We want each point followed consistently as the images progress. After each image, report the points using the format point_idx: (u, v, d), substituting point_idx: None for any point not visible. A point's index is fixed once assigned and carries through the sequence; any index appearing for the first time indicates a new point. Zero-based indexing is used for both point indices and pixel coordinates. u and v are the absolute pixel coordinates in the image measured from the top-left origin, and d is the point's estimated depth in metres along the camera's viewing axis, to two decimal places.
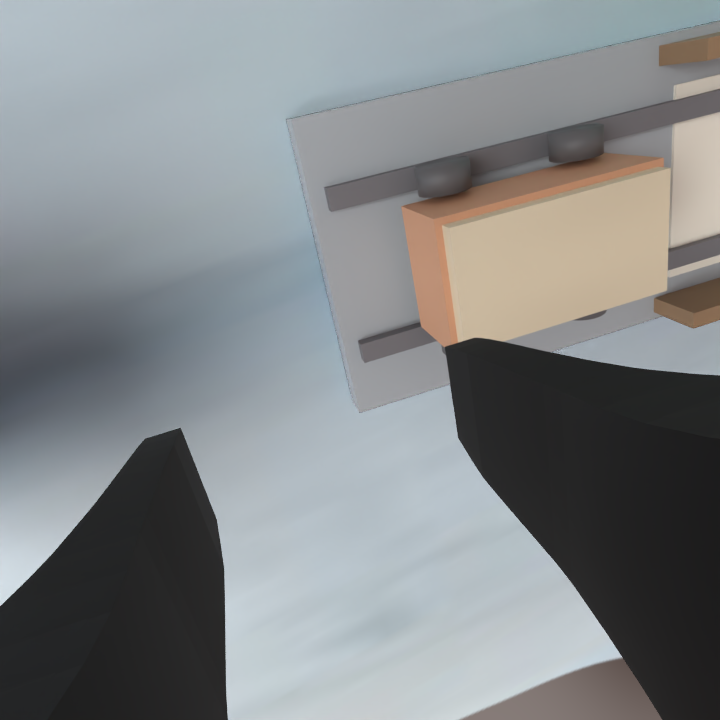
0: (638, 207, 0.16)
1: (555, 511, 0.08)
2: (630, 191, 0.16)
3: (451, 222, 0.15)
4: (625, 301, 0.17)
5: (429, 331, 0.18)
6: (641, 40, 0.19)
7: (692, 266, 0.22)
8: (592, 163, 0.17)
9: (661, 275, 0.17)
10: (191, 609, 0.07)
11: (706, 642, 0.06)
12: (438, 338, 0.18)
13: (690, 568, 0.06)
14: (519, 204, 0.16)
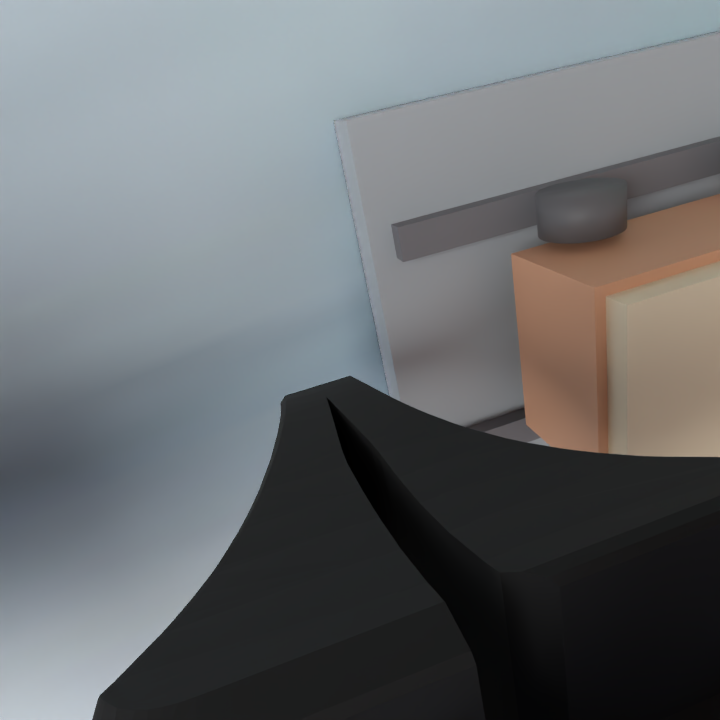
0: None
1: None
2: None
3: (622, 292, 0.09)
4: None
5: (543, 436, 0.12)
6: None
7: None
8: None
9: None
10: None
11: None
12: None
13: None
14: None
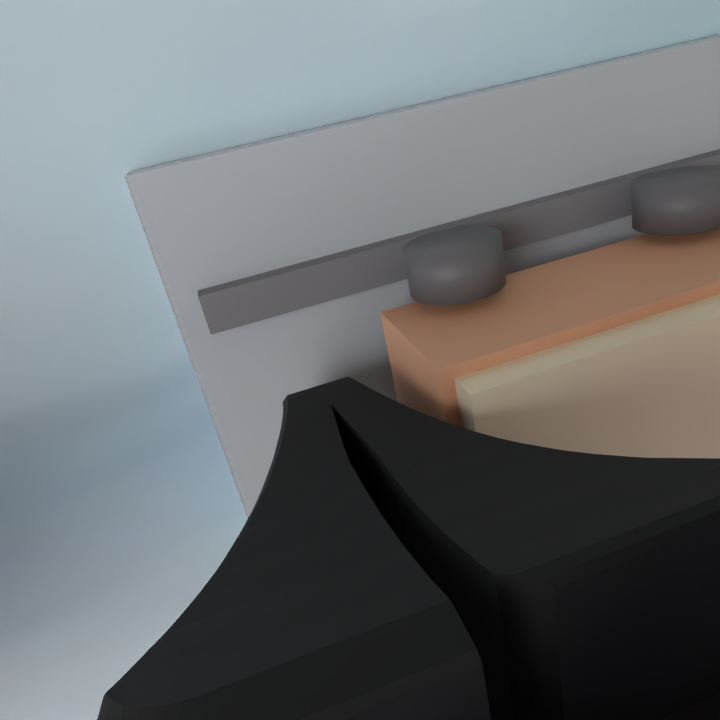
0: None
1: None
2: None
3: (473, 373, 0.08)
4: None
5: None
6: None
7: None
8: (714, 236, 0.10)
9: None
10: None
11: None
12: None
13: None
14: (603, 333, 0.08)
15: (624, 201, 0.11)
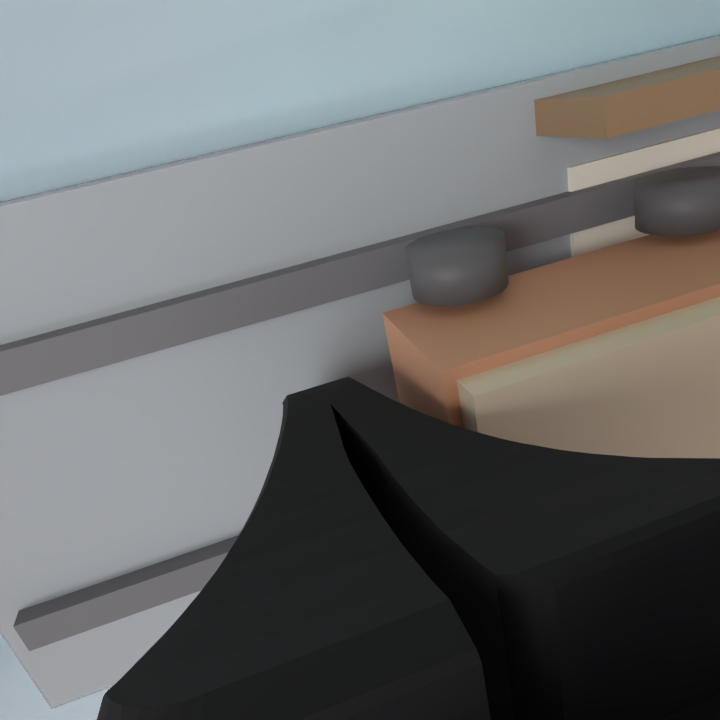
0: None
1: None
2: None
3: (476, 375, 0.08)
4: None
5: None
6: (499, 91, 0.10)
7: None
8: (717, 237, 0.10)
9: None
10: None
11: None
12: None
13: None
14: (606, 334, 0.08)
15: (370, 273, 0.10)
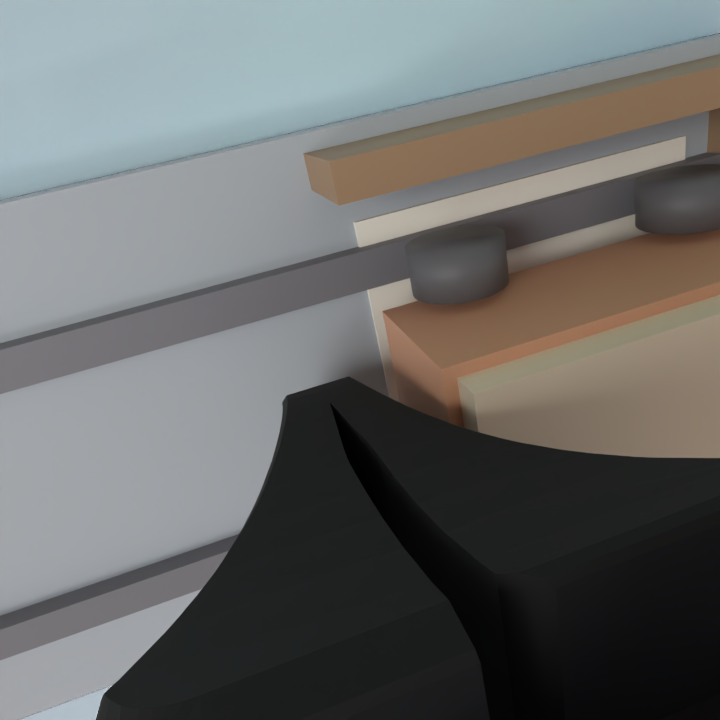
0: None
1: None
2: None
3: (476, 373, 0.08)
4: None
5: None
6: (261, 145, 0.09)
7: None
8: (718, 235, 0.10)
9: None
10: None
11: None
12: None
13: None
14: (607, 332, 0.08)
15: (127, 340, 0.10)
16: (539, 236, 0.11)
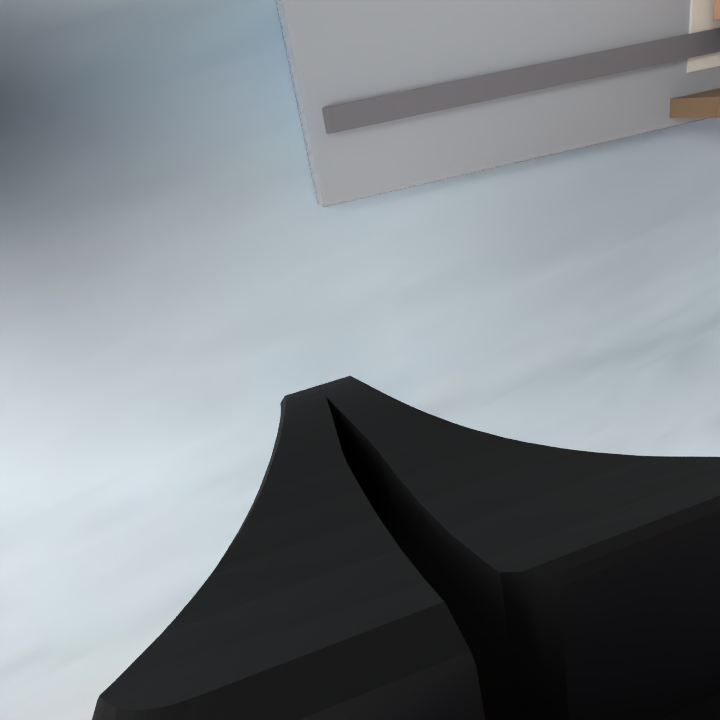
0: None
1: None
2: None
3: None
4: None
5: None
6: None
7: (715, 61, 0.19)
8: None
9: None
10: None
11: None
12: None
13: None
14: None
15: None
16: None
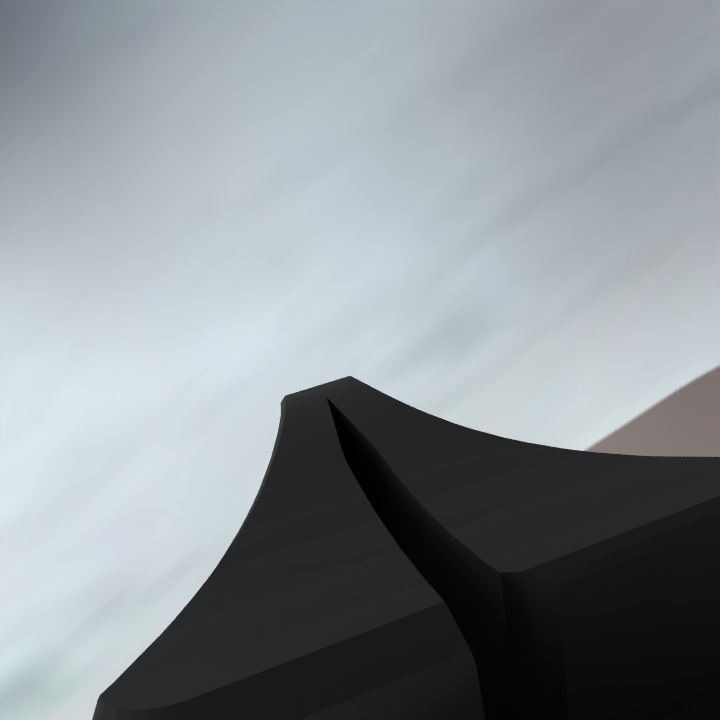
0: None
1: None
2: None
3: None
4: None
5: None
6: None
7: None
8: None
9: None
10: None
11: None
12: None
13: None
14: None
15: None
16: None
